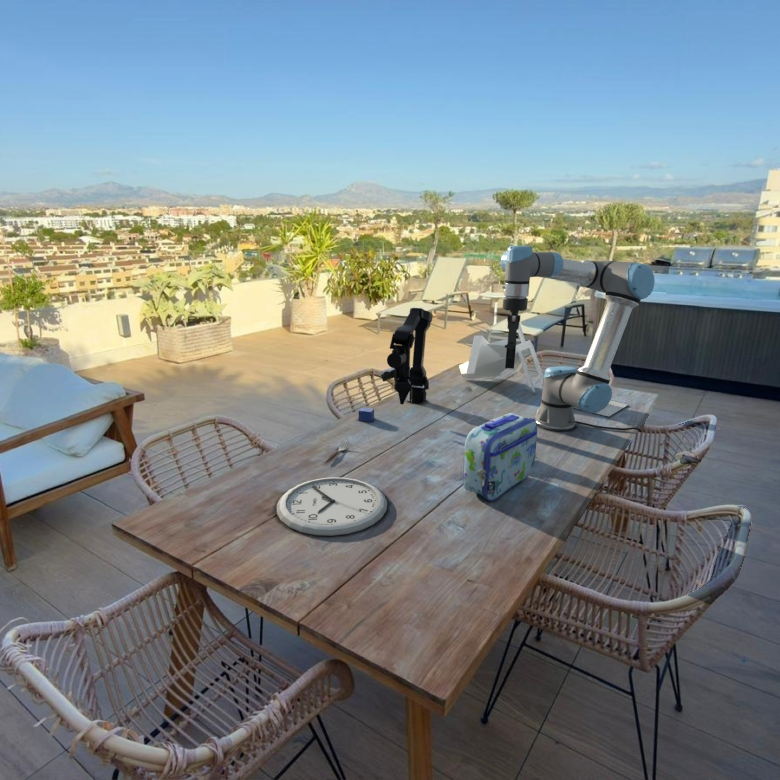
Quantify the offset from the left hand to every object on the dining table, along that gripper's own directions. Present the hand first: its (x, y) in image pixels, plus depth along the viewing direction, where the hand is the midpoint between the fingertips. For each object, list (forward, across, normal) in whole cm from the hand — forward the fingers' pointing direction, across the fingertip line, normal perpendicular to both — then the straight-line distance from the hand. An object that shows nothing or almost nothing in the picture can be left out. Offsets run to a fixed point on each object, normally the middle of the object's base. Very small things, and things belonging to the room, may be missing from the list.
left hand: (401, 400), depth 207 cm
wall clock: (+8, +69, -21) cm, 72 cm away
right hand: (-24, +32, +34) cm, 52 cm away
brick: (+8, +2, -14) cm, 16 cm away
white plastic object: (+7, -45, +48) cm, 67 cm away
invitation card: (+7, -17, +87) cm, 89 cm away
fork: (+8, +36, -23) cm, 43 cm away
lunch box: (+8, +57, +27) cm, 63 cm away
